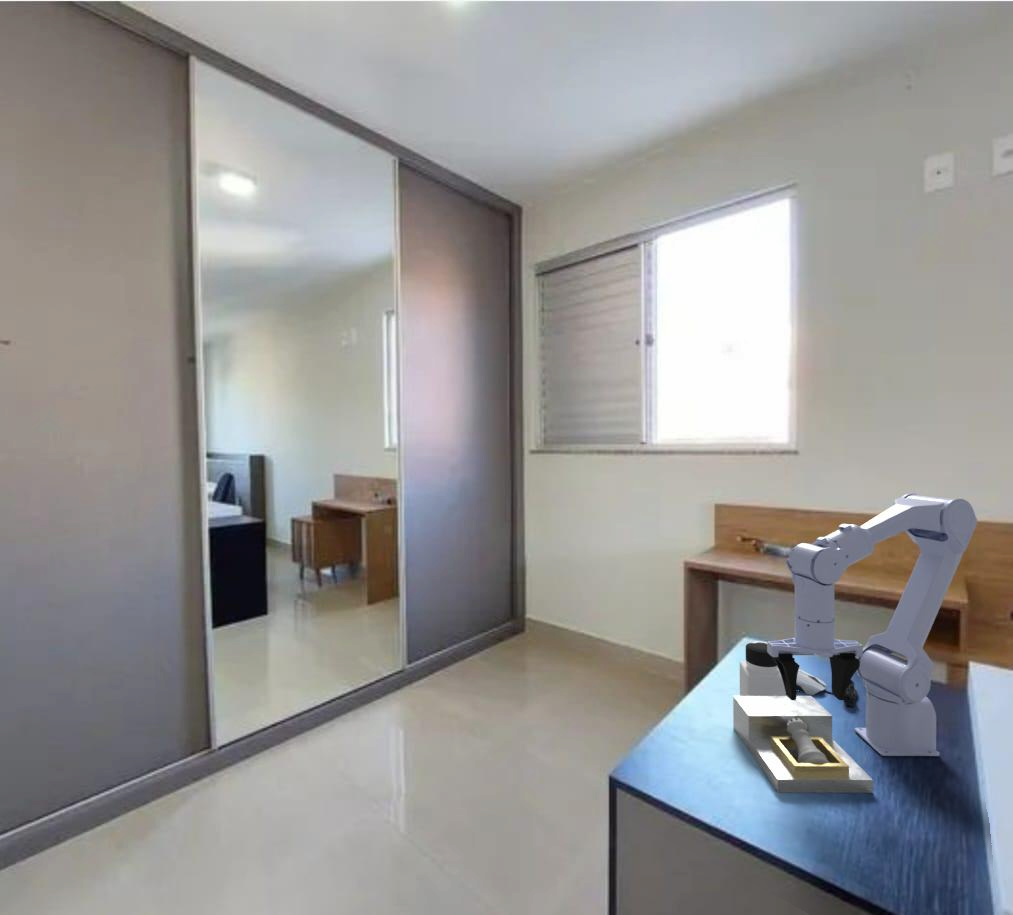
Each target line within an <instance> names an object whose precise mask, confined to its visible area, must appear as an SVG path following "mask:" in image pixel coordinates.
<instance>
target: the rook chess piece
mask: <svg viewBox="0 0 1013 915" xmlns="http://www.w3.org/2000/svg"><path fill="white" fill-rule="evenodd" d="M792 720H793V721H792V722H791V721H790V720H788V721H787V722H788V723H787V726H788V727H787V731H788V732H789V733H790V734H792V735H793V736H792V739H793V740H794V741H795V743H796V745H797V748H798V753H799V754H798V757H799V758H798V760H797V763H829V761H828V760H827V758H826V756H825V755H824V754H823V753H822V752H820V750H819V749H817V748H816V747H815V745H814V744H813V742H812V740H811V739H810V734H809V733H808V732H807V731H806V730H807V724H805V723H804V722H803V721H802V720H801V719H800V718H797V720H795V718H792Z"/></svg>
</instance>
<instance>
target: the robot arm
mask: <svg viewBox="0 0 1013 915" xmlns="http://www.w3.org/2000/svg"><path fill="white" fill-rule="evenodd" d="M975 513H976V512H975V511H974V508H973V505H971V503H970V502H969V501H967V500H966V499H964V498H948V497H942V496H941V497H940V496H930V495H921V494H917V493H911V492H910V493H906V494H904V495H902V496H901V497H899V498H896V499H894V501H893V504H892V506H890V507H888V508H887V509H886V510H883V511H882V512H881V513H880V514H877V515H876V516H874V517H873V518H871V519H869V520H868V521H867V522H865V523H863V524H862V525H860V526H859V525H857V524H853V523H851V524H848V523H841V524H840V525H838V529H837V530H835V531H833V532H831V533H828V534H827V535H825V536H819V537H817V538H816V540H815V541H814V542H812V543H809V542H807V543H806V542H802V543H799V544H797V545H795V546H794V547H793V548H792V549H791V550H790V552H789V554H788V558H787V559H785V565H786V568H787V570H788V572H790V574H791V583H793V585H794V637H791V638H786V639H785V638H784V639H778V640H771V641H769V640H767V641H766V642H767V652H768V653H769V654H770V655H771V656H772V657H773V659H774V661H775V663H776V665H777V667H778V669H779V671H780V674H781V677H782V680H783V683H784V687H785V692H786V696H788V697H789V698H790V699H791V700H796V696H798V695H797V692H798V691H796V681H797V674H798V670H799V669H800V665H799V664H798V662H796V661H795V657H793V656H819V657H821V658H829V663H830V670H831V692H832V694H831V695H833V696H834V697H835V698H836V699H837V700H839V701H843V699H844V695H845V692H846V689H847V686H848V684H849V682H850V680H852V678H853V676H855V673H856V674H857V676H858V677H860V678H861V679H862V686H864V687H865V727H855V728H854V731H855V732H856V733H857V734H858V736H860V737H861V738H862V739H863V740H864V741H866V743H868V744H869V745H870V746H871V747H872V749H874V750H875V751H876V752H877V753H878V754H880V756H883V757H939V756H940V752H939V751H937V713H936V710H935V707H934V704H933V703H932V702H931V699H929V697H927V696H928V694H929V692H930V689H931V684H932V682H931V676H932V673H933V670H934V668H935V665H934V662H933V661H932V660H931V658H930V657H929V655H928V654H927V652H926V651H925V650H924V646H925V643H926V640H927V638H928V636H929V634H930V631H931V630H932V627H933V624H934V623H935V620H936V618H937V615H938V613H939V610H940V608H941V607H942V604H943V602H944V599H945V597H946V594H947V592H948V590H949V588H950V586H951V584H952V580H953V578H954V576H955V573H956V572H957V570H958V567H959V564H960V562H961V561H962V559H963V558H962V557H963V554H964V552H966V550H967V548H968V545H969V543H970V541H971V539H972V536H973V533H974V532H975V529H976V527H977V525H978V518H977V516H976V514H975ZM903 532H905V533H906V535H908V537H909V538H910V540H911V541H912V542H913V543H914V544H916V545H918V548H919V551H920V553H919V556H918V558H917V560H916V563H915V565H914V567H913V570H912V572H911V574H910V576H909V579H908V580H907V583H906V586H905V588H904V590H903V592H902V595H901V597H900V600H899V601H898V604H897V607H896V608H895V610H894V613H893V616H892V618H891V620H890V622H889V625H888V627H887V629H886V631H884V632H882V633H881V632H880V633H878V634H874V635H872V636H870V637H868V639H867V643H866V644H865V646H863V644H862V643H859V641H857V640H847V639H845V640H844V639H837V638H835V584H836V583H837V582H839V581H840V579H841V578H842V576H843V574H844V572H846V571H847V569H848V568H849V567H850V566H853V565H854V564H856V563H857V562H859V561H861V560H863V559H865V558H866V557H869V556H871V555H872V554H873V553H874V551H875V545H876V544H878V543H880V542H883V541H884V540H887V539H889V538H891V537H894V536H897V535H898V534H901V533H903ZM894 654H895V655H894ZM897 655H898V656H897ZM899 656H900V657H899ZM902 657H904V658H906V659H904V658H902Z"/></svg>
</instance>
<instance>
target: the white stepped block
mask: <svg viewBox="0 0 1013 915" xmlns="http://www.w3.org/2000/svg"><path fill="white" fill-rule="evenodd" d="M732 698H733V703H732V704H733V705H732V706H733V708H732V710H733V712H732V713H733V714H732V716H733V718H732V719H733V720H732V721H733V729H734V731H735V732H736V734H737V733H738V734H737V735H738V737H739V738H740V739H741V741H742V742H743V744H744V745H745V747H746V749H748V751H749V753H750V754H751V756H752V757H753V758H754V760H755V762H756V763H757V764H758V767H759V766H760V769H761V771H763V773H764V774H765V776H766V778H767V780H768V781H770V783H771V785H772V786H773V788H774V789H775V791H776V792H777V793H805V794H807V793H809V794H810V793H813V794H814V793H818V794H819V793H820V794H821V793H824V794H826V793H827V794H830V793H831V794H832V793H833V794H834V793H835V794H837V793H838V794H842V793H843V794H847V793H848V794H873V793H874V780H873V779H872V777H871V776H869V774H868V773H866V772H865V770H864V769H863V768H861V767H860V766H859V764H858V763H857V762H856V761H855V760H854V759H853V758H852V757H851V756H850V755H849V754H848V753H847V752H846V751H845V750H844V749H843V748H842V747H841V746H840V745H839V744H838V743H837V742H836V741H835V740H834V739H833V715H832V714H831V713H830V712H829V711H828V710H826V709H825V708H824V707H823V705H821V704H820V703H819V702H818V701H817V700H816V699H815V698H814V697H813V695H797V696H796V700H791V699H790V698H789V697H788V696H787V695H786V696H741V695H733V696H732ZM792 718H795V720H797V718H800V719H801V720H802V721H803V722H804V723H805V724H807V730H806V731H807V732H808V733H809V734H810V739H811V740H812V742H813V744H814V745H815V747H816V748H817V749H819V750H820V752H822V753H823V754H824V755H825V756H826V758H827V760H828V761H829V763H798V758H799V757H798V754H799V753H798V748H797V745H796V743H795V741H794V740H793V739H792V736H793V735H792V734H790V733H789V732H788V731H787V727H788V726H787V723H788V722H787V721H788V720H790V721H791V722H792V721H793V720H792Z"/></svg>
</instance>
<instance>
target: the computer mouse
mask: <svg viewBox="0 0 1013 915" xmlns="http://www.w3.org/2000/svg"><path fill="white" fill-rule="evenodd" d="M826 687H827V684H826V682H825V681H823V680H822V679H820V678H819V677H816V676H815V675H812V674H811V673H808V672H806V671H804V670H802V669H800V668H799V670H798V674H797V681H796V690H799V691H798V692H800V691H802V692H801V693H803V692H804V694H807V695H811V694H812V695H811V696H814V695H816V694H818V693H824V692H828V693H827V694H830V693H832V691H828V690H826ZM820 691H822V692H820ZM857 696H858V691H857V689H856V688H855V682H854V681H853V680H852V679H851V680H850V682H849V684H848V686H847V689H846V692H845V695H844V699H843V700H842V701H843V704H844V705H845V707H846V708H850V707H851V706H852V707H855V706H856V702H855V701H857ZM850 705H851V706H850ZM849 706H850V707H849Z"/></svg>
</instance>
